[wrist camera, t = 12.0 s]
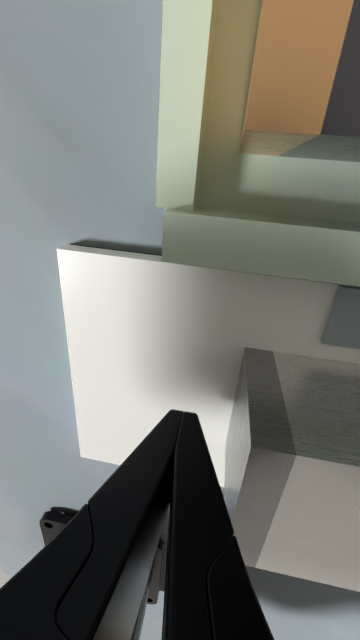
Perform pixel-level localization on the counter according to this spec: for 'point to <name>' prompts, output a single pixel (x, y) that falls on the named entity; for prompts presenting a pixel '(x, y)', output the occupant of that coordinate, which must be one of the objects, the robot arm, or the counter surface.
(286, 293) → the long white tray
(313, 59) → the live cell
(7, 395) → the counter surface
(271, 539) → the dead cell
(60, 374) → the counter surface
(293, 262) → the pale green square tray
